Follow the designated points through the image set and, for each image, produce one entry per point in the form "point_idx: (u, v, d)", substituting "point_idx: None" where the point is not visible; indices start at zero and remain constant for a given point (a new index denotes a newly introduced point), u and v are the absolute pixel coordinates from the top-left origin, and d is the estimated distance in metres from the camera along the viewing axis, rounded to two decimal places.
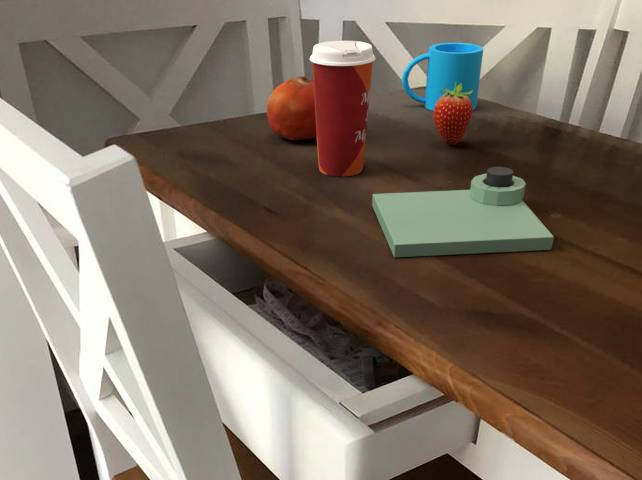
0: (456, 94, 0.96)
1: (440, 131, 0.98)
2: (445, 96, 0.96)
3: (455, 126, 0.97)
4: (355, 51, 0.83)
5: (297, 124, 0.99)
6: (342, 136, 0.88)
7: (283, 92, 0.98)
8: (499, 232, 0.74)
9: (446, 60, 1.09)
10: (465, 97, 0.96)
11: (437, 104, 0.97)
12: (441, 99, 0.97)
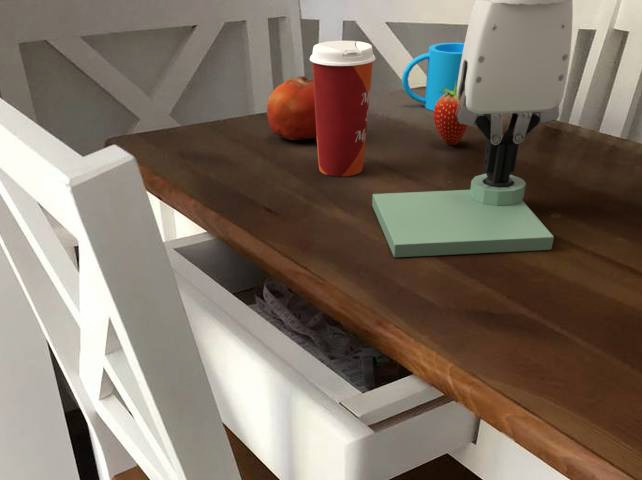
0: (456, 94, 0.96)
1: (440, 131, 0.98)
2: (445, 96, 0.96)
3: (455, 126, 0.97)
4: (355, 51, 0.83)
5: (297, 124, 0.99)
6: (342, 136, 0.88)
7: (283, 92, 0.98)
8: (499, 232, 0.74)
9: (446, 60, 1.09)
10: None
11: (437, 104, 0.97)
12: (441, 99, 0.97)
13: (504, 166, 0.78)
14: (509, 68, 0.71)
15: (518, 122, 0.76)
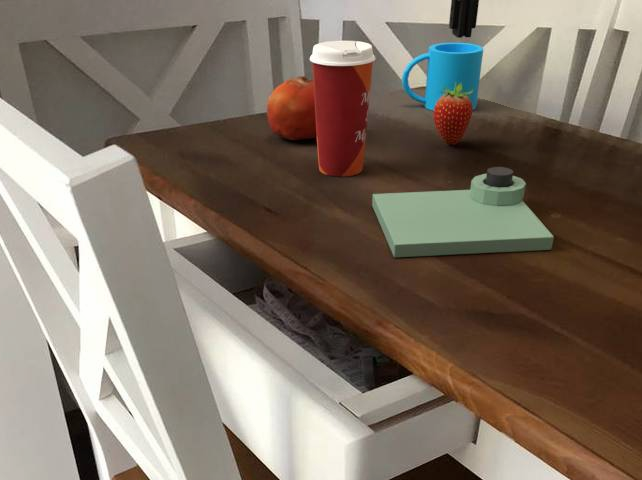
0: (456, 94, 0.96)
1: (440, 131, 0.98)
2: (445, 96, 0.96)
3: (455, 126, 0.97)
4: (355, 51, 0.83)
5: (297, 124, 0.99)
6: (342, 136, 0.88)
7: (283, 92, 0.98)
8: (499, 232, 0.74)
9: (446, 60, 1.09)
10: (465, 97, 0.96)
11: (437, 104, 0.97)
12: (441, 99, 0.97)
13: (467, 21, 0.89)
14: None
15: None
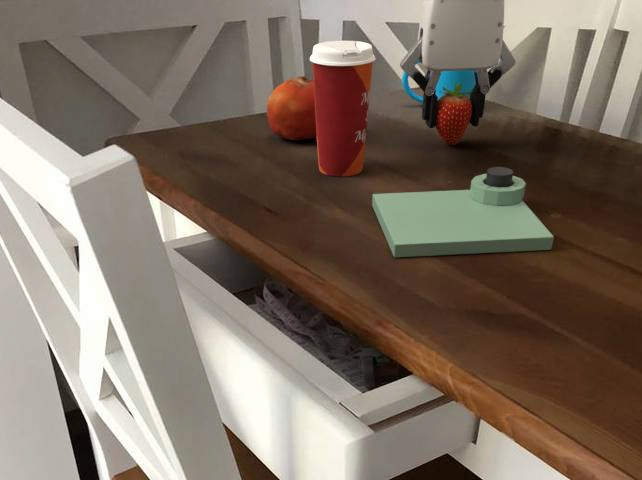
0: (456, 94, 0.96)
1: (440, 131, 0.98)
2: (445, 96, 0.96)
3: (455, 126, 0.97)
4: (355, 51, 0.83)
5: (297, 124, 0.99)
6: (342, 136, 0.88)
7: (283, 92, 0.98)
8: (499, 232, 0.74)
9: None
10: (465, 97, 0.96)
11: (437, 104, 0.97)
12: (441, 99, 0.97)
13: (474, 112, 0.97)
14: (455, 33, 0.90)
15: (479, 78, 0.94)
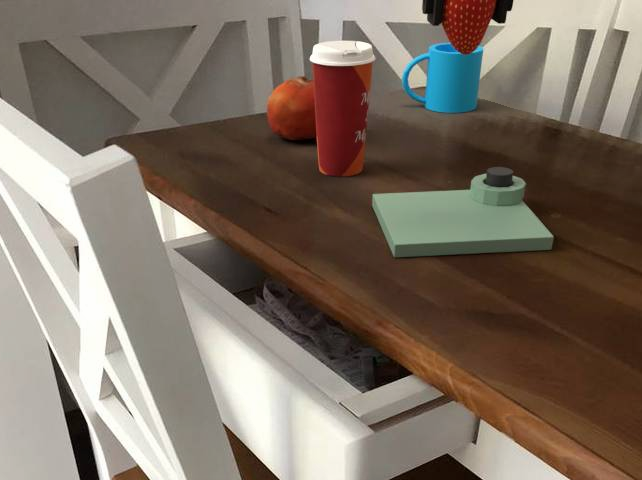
0: None
1: (449, 31, 0.67)
2: None
3: (471, 21, 0.65)
4: (355, 51, 0.83)
5: (297, 124, 0.99)
6: (342, 136, 0.88)
7: (283, 92, 0.98)
8: (499, 232, 0.74)
9: (446, 60, 1.09)
10: None
11: None
12: None
13: (500, 1, 0.65)
14: None
15: None
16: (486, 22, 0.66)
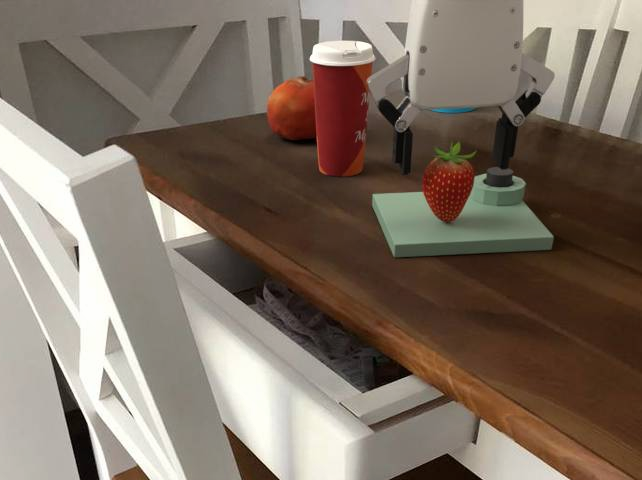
0: (452, 158, 0.71)
1: (431, 206, 0.74)
2: (438, 161, 0.72)
3: (451, 201, 0.72)
4: (355, 51, 0.83)
5: (297, 124, 0.99)
6: (342, 136, 0.88)
7: (283, 92, 0.98)
8: (499, 232, 0.74)
9: None
10: (464, 162, 0.71)
11: (427, 171, 0.72)
12: (432, 165, 0.72)
13: (503, 151, 0.71)
14: (455, 58, 0.64)
15: (505, 111, 0.68)
16: (465, 200, 0.73)
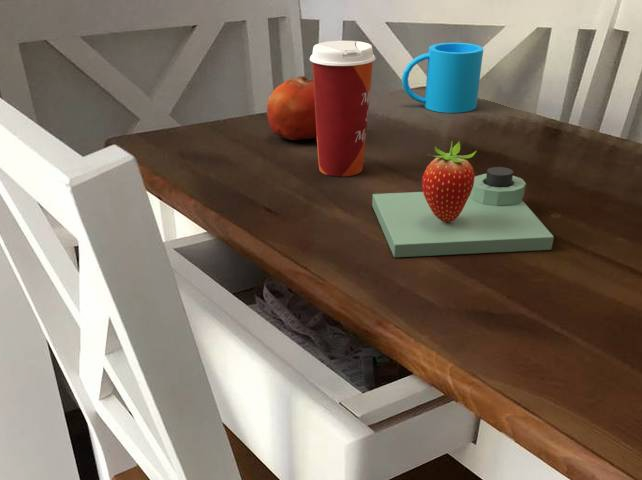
0: (452, 158, 0.71)
1: (431, 206, 0.74)
2: (438, 161, 0.72)
3: (451, 201, 0.72)
4: (355, 51, 0.83)
5: (297, 124, 0.99)
6: (342, 136, 0.88)
7: (283, 92, 0.98)
8: (499, 232, 0.74)
9: (446, 60, 1.09)
10: (464, 162, 0.71)
11: (427, 171, 0.72)
12: (432, 165, 0.72)
13: None
14: None
15: None
16: (465, 200, 0.73)
